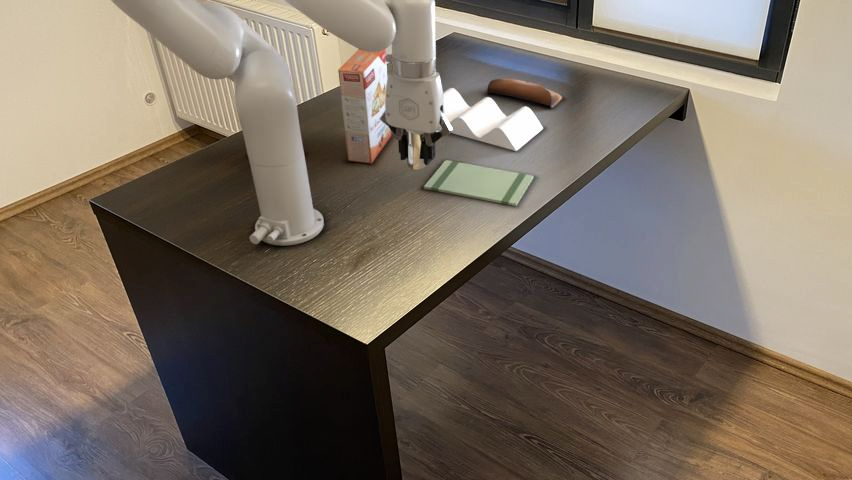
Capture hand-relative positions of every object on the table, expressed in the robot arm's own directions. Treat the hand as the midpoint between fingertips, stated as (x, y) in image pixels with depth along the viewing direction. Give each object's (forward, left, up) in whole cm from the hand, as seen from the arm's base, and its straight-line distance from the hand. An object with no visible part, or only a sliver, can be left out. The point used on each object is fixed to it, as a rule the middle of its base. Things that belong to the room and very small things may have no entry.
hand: (417, 158), depth 141 cm
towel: (+13, -8, -11) cm, 19 cm away
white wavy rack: (+39, +5, -11) cm, 41 cm away
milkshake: (0, 0, -2) cm, 2 cm away
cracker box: (+19, +20, -11) cm, 30 cm away
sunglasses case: (+58, -4, -11) cm, 60 cm away
